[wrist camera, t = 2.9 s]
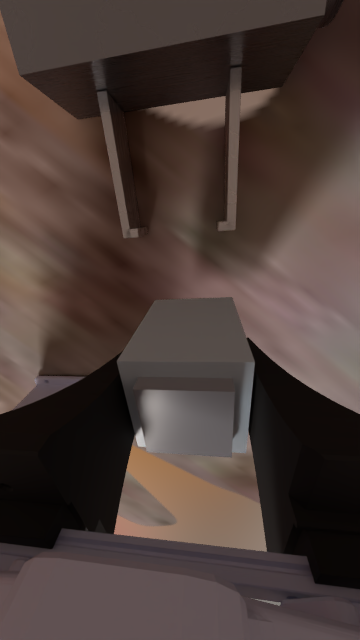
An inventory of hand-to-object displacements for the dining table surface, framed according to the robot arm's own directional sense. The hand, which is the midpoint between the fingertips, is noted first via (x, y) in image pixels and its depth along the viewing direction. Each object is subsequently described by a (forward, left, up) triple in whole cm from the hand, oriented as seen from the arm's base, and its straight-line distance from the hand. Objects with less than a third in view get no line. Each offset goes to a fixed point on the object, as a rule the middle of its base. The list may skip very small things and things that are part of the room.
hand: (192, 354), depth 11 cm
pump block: (0, 0, -2) cm, 2 cm away
